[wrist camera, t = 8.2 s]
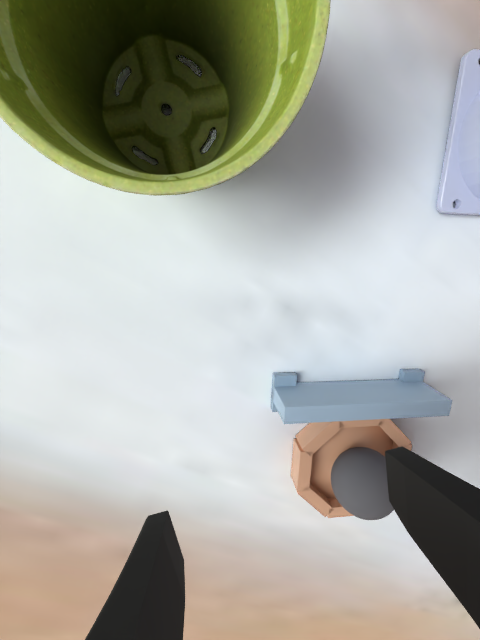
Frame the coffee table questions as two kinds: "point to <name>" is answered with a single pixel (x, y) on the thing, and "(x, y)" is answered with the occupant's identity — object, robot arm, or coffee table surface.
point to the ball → (361, 483)
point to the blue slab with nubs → (356, 399)
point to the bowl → (323, 449)
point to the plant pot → (157, 84)
